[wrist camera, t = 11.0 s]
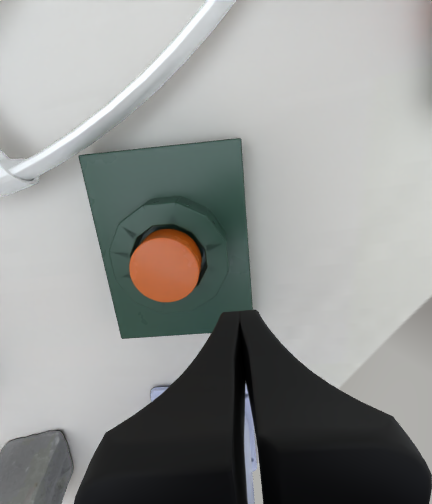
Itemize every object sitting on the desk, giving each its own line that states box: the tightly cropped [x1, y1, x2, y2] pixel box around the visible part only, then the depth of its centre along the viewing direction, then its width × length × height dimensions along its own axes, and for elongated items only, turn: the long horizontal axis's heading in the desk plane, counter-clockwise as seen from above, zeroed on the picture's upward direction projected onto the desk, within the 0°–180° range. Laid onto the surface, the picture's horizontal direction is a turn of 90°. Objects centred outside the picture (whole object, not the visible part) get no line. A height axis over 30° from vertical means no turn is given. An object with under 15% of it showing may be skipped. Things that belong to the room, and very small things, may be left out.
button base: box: [79, 138, 253, 339], centre depth 19 cm, size 12×9×4 cm
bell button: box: [129, 229, 202, 302], centre depth 17 cm, size 4×4×2 cm
